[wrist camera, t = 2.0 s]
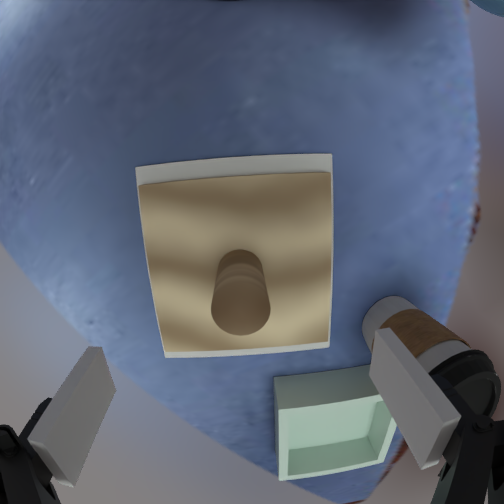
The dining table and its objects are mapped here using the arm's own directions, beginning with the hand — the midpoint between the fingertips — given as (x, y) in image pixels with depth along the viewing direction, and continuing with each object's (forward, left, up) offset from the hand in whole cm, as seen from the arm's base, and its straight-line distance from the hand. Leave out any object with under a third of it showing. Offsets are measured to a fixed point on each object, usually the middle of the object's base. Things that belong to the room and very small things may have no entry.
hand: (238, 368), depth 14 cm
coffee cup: (+7, +15, -14) cm, 22 cm away
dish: (+19, +9, -14) cm, 25 cm away
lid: (0, 0, -14) cm, 14 cm away
